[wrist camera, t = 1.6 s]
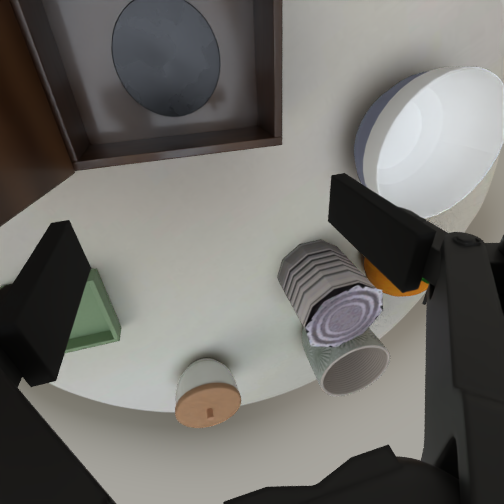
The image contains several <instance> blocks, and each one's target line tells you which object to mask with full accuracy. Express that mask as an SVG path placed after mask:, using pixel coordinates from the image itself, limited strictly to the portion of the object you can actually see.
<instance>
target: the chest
mask: <svg viewBox="0 0 504 504" xmlns="http://www.w3.org/2000/svg"><path fill="white" fill-rule="evenodd" d="M131 1H132V0H9V2H10V4H11V7H12V9H13V12H14V15H15V17H16V20H17V22H18V25H19V28H20V30H21V33H22V36H23V38H24V41H25V43H26V46H27V49H28V51H29V54H30V56H31V59H32V62H33V64H34V67H35V69H36V72H37V75H38V77H39V80H40V82H41V85H42V88H43V90H44V93H45V95H46V98H47V101H48V103H49V106H50V108H51V111H52V114H53V116H54V119H55V122H56V124H57V127H58V129H59V132H60V135H61V137H62V140H63V142H64V145H65V148H66V150H67V153H68V155H69V158H70V161H71V163H72V166H73V168H74V171H78V170H86V169H94V168H102V167H110V166H118V165H126V164H134V163H142V162H150V161H158V160H165V159H173V158H181V157H189V156H197V155H205V154H213V153H221V152H229V151H237V150H245V149H253V148H261V147H268V146H276V145H282V137H281V136H282V0H186V1H188V2H189V3H190V4H192V5H193V6H194V7H195V8H196V9H197V10H198V11H199V12H200V13H201V14H202V15H203V16H204V17H205V19H206V20H207V22H208V23H209V25H210V26H211V28H212V30H213V32H214V35H215V37H216V40H217V43H218V47H219V52H220V75H219V80H218V83H217V86H216V88H215V91H214V93H213V94H212V96H211V97H210V99H209V100H208V101H207V103H206V104H205V105H203V106H202V107H201V108H200V109H198V110H197V111H195V112H193V113H191V114H188V115H185V116H180V117H167V116H162V115H158V114H156V113H153V112H151V111H149V110H147V109H145V108H144V107H143V106H141V105H140V104H139V103H137V102H136V101H135V100H134V99H133V98H132V97H131V96H130V95H129V93H128V92H127V91H126V89H125V88H124V86H123V85H122V83H121V81H120V79H119V77H118V75H117V73H116V70H115V67H114V63H113V58H112V50H111V42H112V34H113V29H114V26H115V23H116V20H117V18H118V16H119V14H120V13H121V12H122V10H123V9H124V8H125V7H126V6H127V5H128V3H130V2H131Z"/></svg>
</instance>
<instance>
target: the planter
mask: <svg viewBox="0 0 504 504" xmlns="http://www.w3.org/2000/svg"><path fill="white" fill-rule="evenodd" d="M302 343H303V347H304V350H305V353H306V355H307V358H308V360H309V363H310V365H311V367H312V369H313V371H314V374H315V376H316V378H317V380H318V382H319V384H320V387H321V389H322V390H323V391H324V392H325V393H327V394H328V395H331V396H345V395H349V394H352V393H355V392H358V391H360V390H362V389H364V388H366V387H368V386H369V385H371V384H372V383H374V382H375V381H376V380H377V379H378V378H379V377H380V376H381V375H382V374H383V373H384V372H385V370H386V368H387V367H388V365H389V362H390V353H389V351H388V350H387V349H386V348H385V346H384V345H383V344H382V343H381V341H380V340H379V339H378V338H377V337H376V335H375V334H374V333H373V332H372V331H371V330H370V328H369V327H368V329H367V330H366V331H365V332H364V333H363V334H361V335H359V336H357V337H355V338H353V339H351V340H349V341H347V342H345V343H343V344H341V345H339V346H337V347H335V348H334V347H316V346H311V345H310V342H309V339H308V336H307V333H306V330H305V329H304V328H303V331H302Z"/></svg>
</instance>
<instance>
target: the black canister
mask: <svg viewBox="0 0 504 504" xmlns="http://www.w3.org/2000/svg"><path fill="white" fill-rule="evenodd" d="M111 50H112V58H113V63H114V67H115V70H116V73H117V75H118V77H119V79H120V81H121V83H122V85H123V86H124V88H125V89H126V91H127V92H128V93H129V95H130V96H131V97H132V98H133V99H134V100H135V101H136V102H137V103H139V104H140V105H141V106H143V107H144V108H145V109H147V110H149V111H151V112H153V113H156V114H158V115H162V116H167V117H180V116H185V115H188V114H191V113H193V112H195V111H197V110H198V109H200V108H201V107H202V106H203V105H205V104H206V103H207V101H208V100H209V99H210V97H211V96H212V94H213V93H214V91H215V88H216V86H217V83H218V80H219V75H220V52H219V47H218V43H217V40H216V37H215V35H214V32H213V30H212V28H211V26H210V25H209V23H208V22H207V20H206V19H205V17H204V16H203V15H202V14H201V13H200V12H199V11H198V10H197V9H196V8H195V7H194V6H193V5H192V4H190V3H189V2H188V1H186V0H132V1H131V2H130V3H128V5H127V6H126V7H125V8H124V9H123V10H122V12H121V13H120V14H119V16H118V18H117V20H116V23H115V26H114V29H113V34H112V42H111Z"/></svg>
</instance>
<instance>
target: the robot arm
mask: <svg viewBox="0 0 504 504" xmlns="http://www.w3.org/2000/svg"><path fill="white" fill-rule="evenodd" d="M328 222H329V223H331V224H332V225H333V226H334V227H335V228H336V229H337V230H338V231H339V232H340V233H341V234H342V235H343V236H344V237H345V238H346V239H347V240H348V241H349V242H350V243H351V244H352V245H353V246H354V247H355V248H356V249H357V250H358V251H359V252H360V253H361V254H362V255H364V256H365V257H366V258H367V259H368V260H369V261H370V262H371V263H372V264H373V265H374V266H375V267H376V268H377V269H378V270H379V271H380V272H381V273H382V274H383V275H384V276H385V277H386V278H387V279H388V280H389V281H390V282H391V283H392V284H393V285H394V286H395V287H397V288H398V289H399V290H400V291H401V292H402V293H405V292H409V291H413V290H417V289H419V286H420V283H421V280H422V277H423V278H424V279H426V280H427V281H428V282H429V285H428V288H427V291H426V294H425V297H424V301H423V304H426V302H427V315H426V375H425V437H424V438H425V439H424V448H423V453H422V458H421V461H420V460H416V459H412V458H407V457H396V456H395V454H394V453H393V451H392V449H391V448H390V446H389V445H386V446H383V447H380V448H377V449H374V450H372V451H369V452H366V453H363V454H360V455H357V456H354V457H351V458H350V459H349V460H347V461H346V462H345V463H344V464H342V465H341V466H340V467H338V468H337V469H336V470H335V471H333V472H332V473H331V474H329V475H328V476H327V477H326V478H324V479H323V480H322V481H321V482H320V483H318V484H316V485H313V486H281V487H265V488H262V489H259V490H256V491H254V492H250V493H248V494H245V495H242V496H239V497H236V498H233V499H230V500H228V501H225V502H224V504H504V235H503V237H502V239H501V242H500V243H484V242H483V240H481V239H480V238H478V237H476V236H474V235H471V234H467V233H463V232H452V233H447V232H445V231H443V230H442V229H440V228H438V227H437V226H435V225H434V224H432V223H430V222H429V221H426V220H425V219H424V218H422V217H419V215H417V214H416V213H414V212H412V211H411V210H408V209H405V208H402V207H397V206H396V205H394V204H393V203H391V202H389V201H388V200H386V199H385V198H383V197H382V196H380V195H378V194H377V193H375V192H374V191H372V190H370V189H369V188H367V187H366V186H364V185H362V184H361V183H359V182H358V181H356V180H355V179H353V178H351V177H350V176H348V175H347V174H345V173H343V174H337V175H332V176H331V189H330V202H329V215H328ZM90 270H91V267H90V264H89V262H88V260H87V258H86V256H85V254H84V251H83V249H82V247H81V245H80V243H79V240H78V238H77V236H76V234H75V232H74V230H73V227H72V225H71V223H70V221H69V220H66V221H60V222H54V223H51V224H50V226H49V227H48V229H47V230H46V232H45V234H44V235H43V237H42V238H41V240H40V242H39V243H38V245H37V246H36V248H35V250H34V251H33V253H32V254H31V256H30V257H29V259H28V261H27V262H26V264H25V265H24V267H23V269H22V270H21V272H20V273H19V275H18V276H17V278H16V280H15V281H14V283H13V284H11V285H6V286H4V287H2V288H1V289H0V504H116V503H115V502H114V500H113V499H112V498H111V497H110V496H109V494H108V493H107V492H106V491H105V490H104V489H103V488H102V486H101V485H100V484H99V483H98V482H97V480H96V479H95V478H94V477H93V476H92V475H91V473H90V472H89V471H88V470H87V469H86V468H85V466H84V465H83V464H82V463H81V462H80V461H79V459H78V458H77V457H76V456H75V455H74V453H73V452H72V451H71V450H70V449H69V448H68V446H67V445H66V444H65V443H64V442H63V441H62V439H61V438H60V437H59V436H58V435H57V434H56V432H55V431H54V430H53V429H52V428H51V427H50V425H49V424H48V423H47V422H46V421H45V419H44V418H43V417H42V416H41V415H40V414H39V412H38V411H37V410H36V409H35V408H34V407H33V405H31V403H30V402H29V401H28V400H27V398H26V397H25V396H24V395H23V394H22V393H21V391H19V389H18V385H19V383H20V381H21V378H22V377H23V378H24V379H25V380H26V382H27V383H28V384H29V385H30V386H31V387H33V386H37V385H41V384H45V383H49V382H53V381H56V379H57V376H58V373H59V370H60V366H61V363H62V360H63V357H64V353H65V350H66V347H67V344H68V341H69V337H70V334H71V331H72V328H73V324H74V321H75V318H76V315H77V312H78V308H79V305H80V302H81V299H82V295H83V292H84V289H85V286H86V283H87V279H88V276H89V273H90Z"/></svg>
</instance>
